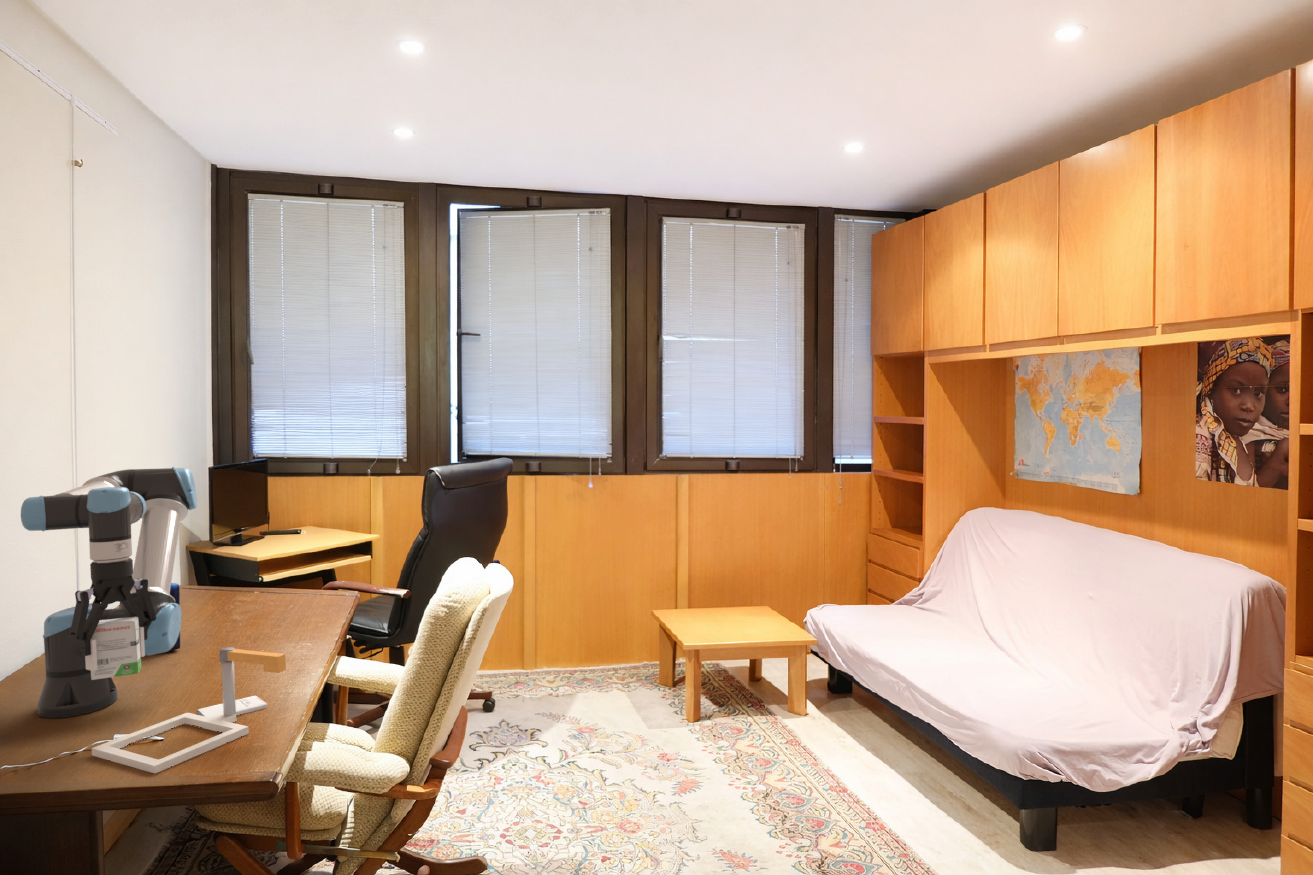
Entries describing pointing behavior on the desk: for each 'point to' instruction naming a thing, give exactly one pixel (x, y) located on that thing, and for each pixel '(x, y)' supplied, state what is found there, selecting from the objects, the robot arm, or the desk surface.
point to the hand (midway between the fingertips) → (116, 662)
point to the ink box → (117, 648)
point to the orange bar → (255, 658)
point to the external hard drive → (241, 707)
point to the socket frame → (216, 724)
